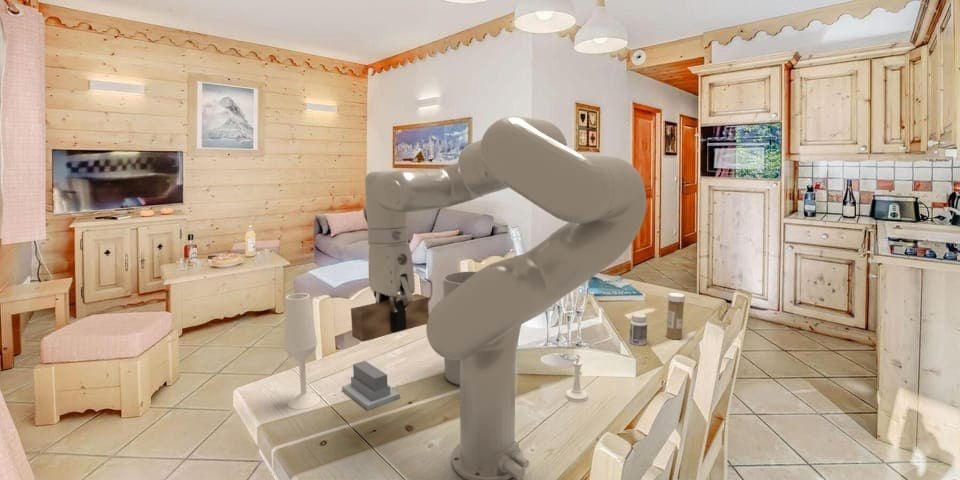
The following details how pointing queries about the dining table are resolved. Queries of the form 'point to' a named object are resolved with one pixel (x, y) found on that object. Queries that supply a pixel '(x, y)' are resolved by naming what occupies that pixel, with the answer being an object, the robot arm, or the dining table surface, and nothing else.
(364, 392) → the block
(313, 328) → the champagne flute
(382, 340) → the dining table surface
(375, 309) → the walnut block
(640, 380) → the dining table surface
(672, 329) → the sprinkles bottle
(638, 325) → the pill bottle
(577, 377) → the chess piece
